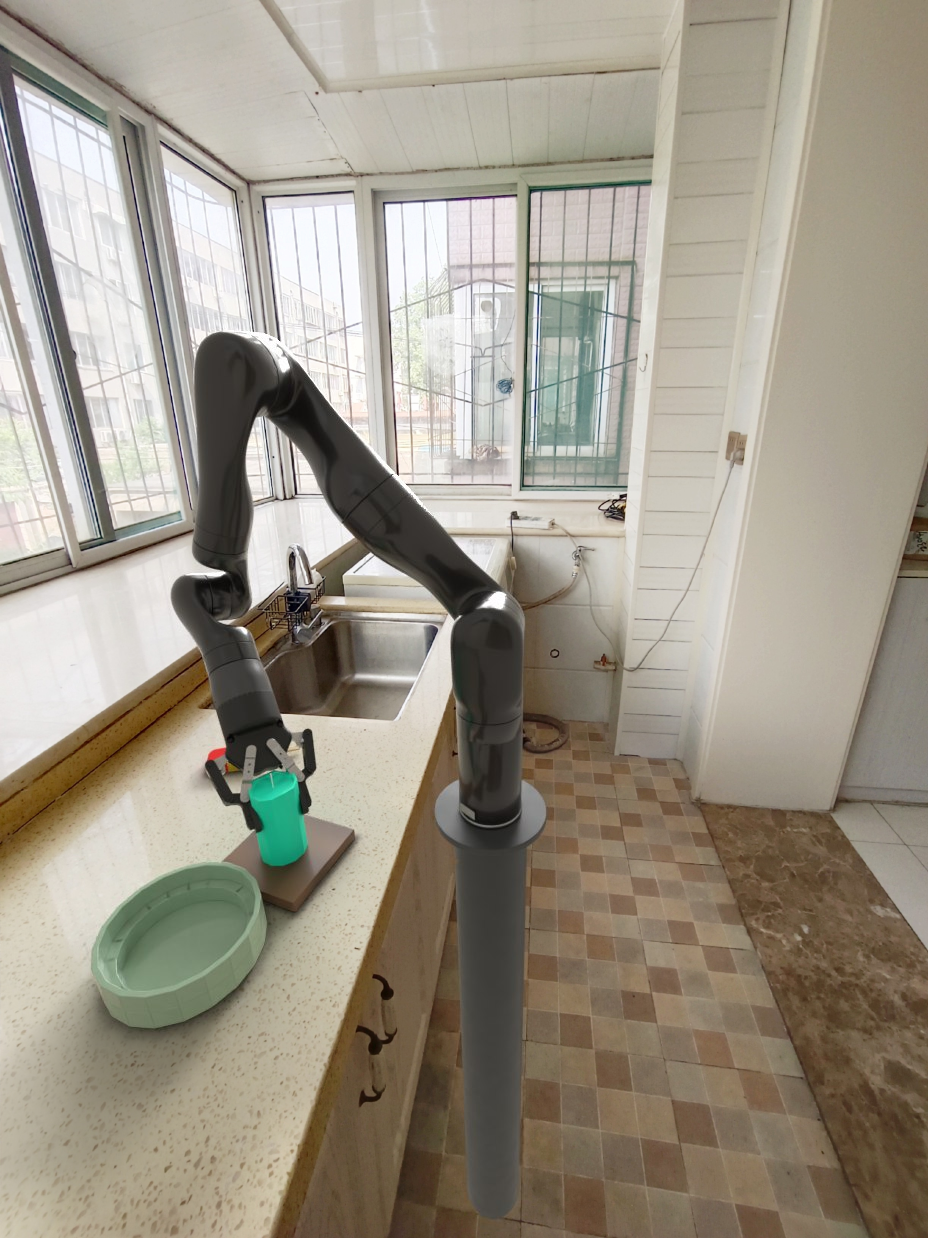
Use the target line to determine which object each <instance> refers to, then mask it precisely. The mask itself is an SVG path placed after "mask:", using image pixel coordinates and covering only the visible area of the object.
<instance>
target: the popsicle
mask: <svg viewBox="0 0 928 1238" xmlns="http://www.w3.org/2000/svg"><path fill="white" fill-rule="evenodd" d="M300 749H301V748H298V747H297V745H295V746H289V748H288V751H287V753H288V752H289V753H291V752H295V751H299V750H300ZM225 750H226V746H225V747H220V748H219V747H218V748H215V749H212V750H211V751H209V753H208V756H207V759H206V761H208V760H215V759H217V758H219V757H221V756H222V755H224V754H225ZM225 768H226V770H225V773H224V774H226V773H233V772H238V771H240V770H239V769H238V768H236V767H234V766H233V765H231V764H230V763H228V762H227V763H226V764H225Z"/></svg>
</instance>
